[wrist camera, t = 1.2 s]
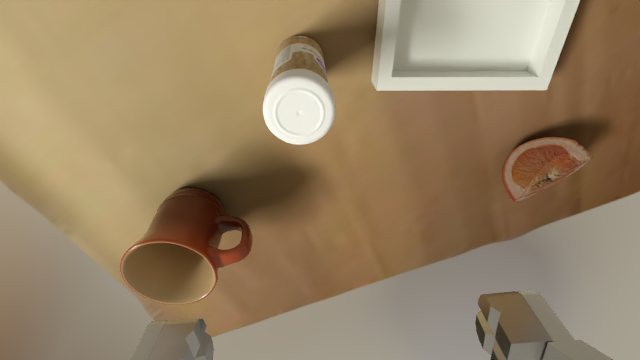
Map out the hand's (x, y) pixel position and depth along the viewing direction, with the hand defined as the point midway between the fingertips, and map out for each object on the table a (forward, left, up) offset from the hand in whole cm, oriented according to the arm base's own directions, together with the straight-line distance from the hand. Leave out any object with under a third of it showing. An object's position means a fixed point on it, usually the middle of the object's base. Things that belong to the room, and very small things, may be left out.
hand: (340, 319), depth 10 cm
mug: (+16, -12, -27) cm, 34 cm away
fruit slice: (+10, +25, -28) cm, 38 cm away
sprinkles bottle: (-1, -1, -27) cm, 27 cm away
